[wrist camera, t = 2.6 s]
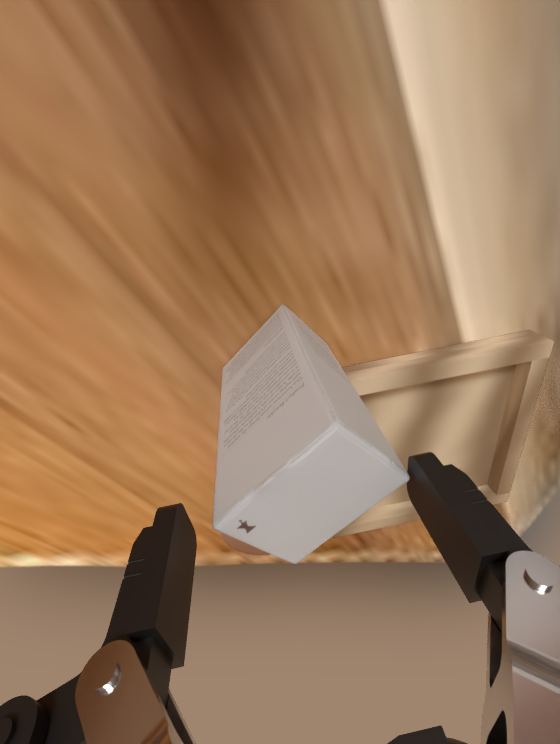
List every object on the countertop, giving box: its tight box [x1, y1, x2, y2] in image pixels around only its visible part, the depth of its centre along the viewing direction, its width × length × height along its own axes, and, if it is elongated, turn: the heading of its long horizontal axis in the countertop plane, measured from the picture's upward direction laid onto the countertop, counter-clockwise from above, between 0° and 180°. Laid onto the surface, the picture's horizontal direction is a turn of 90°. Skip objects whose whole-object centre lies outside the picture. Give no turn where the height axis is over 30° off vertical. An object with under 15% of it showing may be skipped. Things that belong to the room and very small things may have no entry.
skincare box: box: [213, 305, 409, 564], centre depth 16 cm, size 6×4×12 cm
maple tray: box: [333, 330, 554, 538], centre depth 26 cm, size 16×16×2 cm
